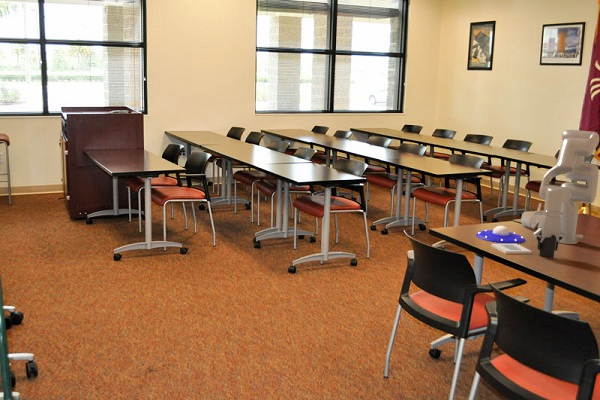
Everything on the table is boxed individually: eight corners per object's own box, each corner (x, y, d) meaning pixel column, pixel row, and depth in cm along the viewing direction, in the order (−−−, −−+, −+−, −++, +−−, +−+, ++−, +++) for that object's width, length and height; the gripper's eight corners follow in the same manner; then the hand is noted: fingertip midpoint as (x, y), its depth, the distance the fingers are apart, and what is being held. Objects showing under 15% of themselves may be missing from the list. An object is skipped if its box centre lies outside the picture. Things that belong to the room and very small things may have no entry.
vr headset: (527, 230, 365) (530, 205, 363) (518, 225, 377) (521, 201, 374) (557, 231, 368) (561, 206, 365) (547, 226, 379) (550, 202, 376)
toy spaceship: (476, 241, 335) (477, 228, 334) (475, 230, 359) (476, 218, 358) (527, 247, 330) (528, 233, 328) (522, 235, 354) (524, 223, 352)
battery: (554, 256, 312) (557, 233, 310) (553, 258, 309) (557, 235, 307) (539, 254, 315) (542, 231, 313) (538, 256, 312) (541, 233, 310)
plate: (516, 245, 329) (516, 243, 329) (531, 253, 316) (531, 251, 316) (491, 245, 326) (491, 243, 326) (505, 253, 313) (505, 251, 312)
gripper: (563, 212, 313) (558, 247, 317) (531, 211, 310) (526, 247, 313) (573, 215, 306) (568, 252, 310) (540, 215, 302) (535, 252, 306)
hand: (547, 249), depth 311 cm, fingers closed on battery, 7 cm apart
